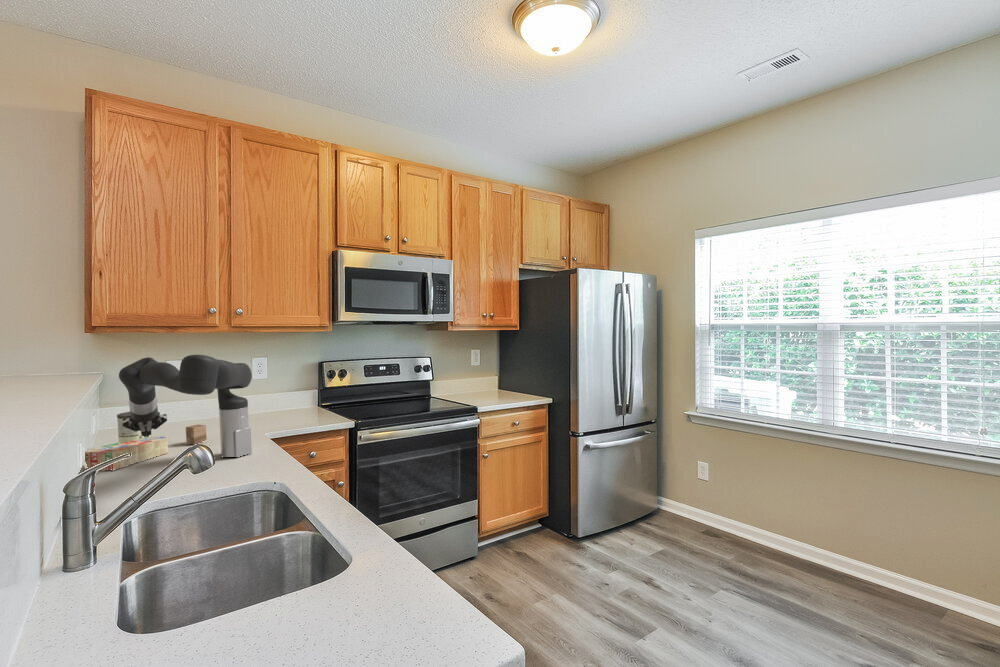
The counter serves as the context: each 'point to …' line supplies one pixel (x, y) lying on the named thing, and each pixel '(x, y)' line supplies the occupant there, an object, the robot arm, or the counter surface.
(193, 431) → the walnut block
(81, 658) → the counter surface
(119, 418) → the coffee can
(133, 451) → the stack of blocks
